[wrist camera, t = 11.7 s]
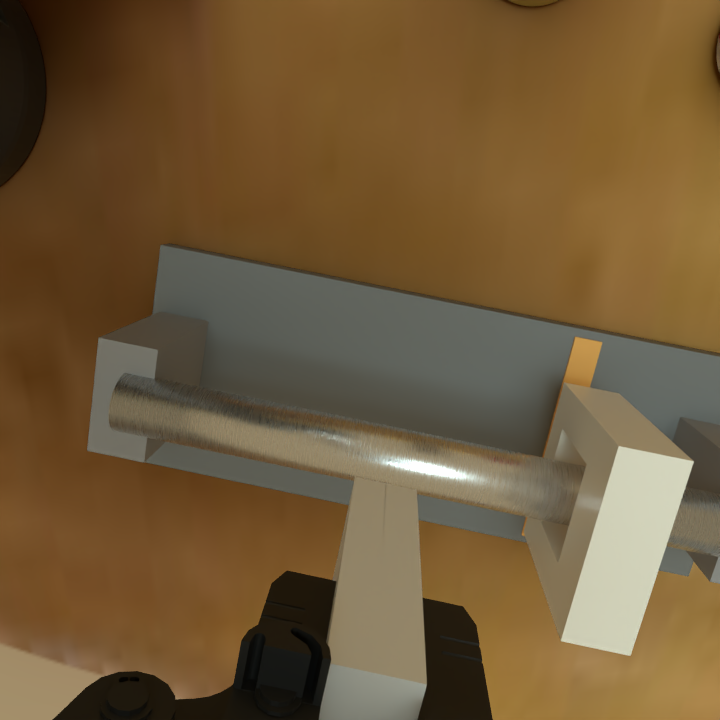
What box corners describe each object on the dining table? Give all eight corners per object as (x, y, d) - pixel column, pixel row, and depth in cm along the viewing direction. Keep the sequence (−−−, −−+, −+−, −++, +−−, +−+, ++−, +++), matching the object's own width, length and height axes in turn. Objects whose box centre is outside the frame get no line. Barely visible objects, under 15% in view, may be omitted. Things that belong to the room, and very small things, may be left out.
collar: (523, 531, 39) (560, 640, 29) (564, 382, 37) (618, 445, 27) (575, 542, 39) (630, 656, 29) (619, 393, 37) (693, 461, 27)
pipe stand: (143, 451, 45) (70, 519, 36) (169, 243, 42) (96, 254, 32) (679, 564, 44) (754, 664, 35) (747, 359, 41) (851, 406, 31)
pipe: (131, 421, 36) (104, 441, 33) (137, 363, 35) (111, 378, 32) (734, 546, 35) (765, 580, 32) (754, 490, 34) (788, 518, 31)
